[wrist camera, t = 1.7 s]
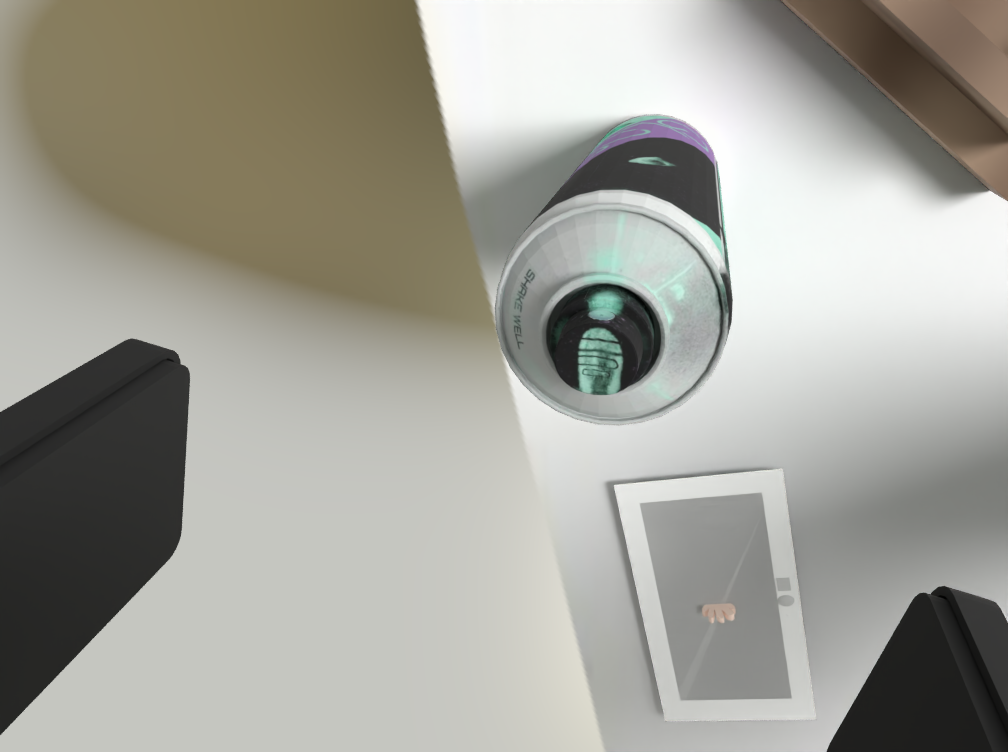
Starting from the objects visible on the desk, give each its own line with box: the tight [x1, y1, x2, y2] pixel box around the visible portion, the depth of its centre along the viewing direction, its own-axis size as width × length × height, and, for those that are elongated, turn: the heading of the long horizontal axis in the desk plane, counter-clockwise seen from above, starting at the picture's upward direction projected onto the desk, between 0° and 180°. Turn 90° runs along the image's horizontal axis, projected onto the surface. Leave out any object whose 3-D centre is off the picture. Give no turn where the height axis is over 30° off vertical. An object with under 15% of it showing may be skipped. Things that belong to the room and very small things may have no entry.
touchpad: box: [614, 468, 816, 721], centre depth 41 cm, size 8×15×2 cm, turn 15°
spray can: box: [495, 114, 733, 425], centre depth 25 cm, size 6×6×20 cm
